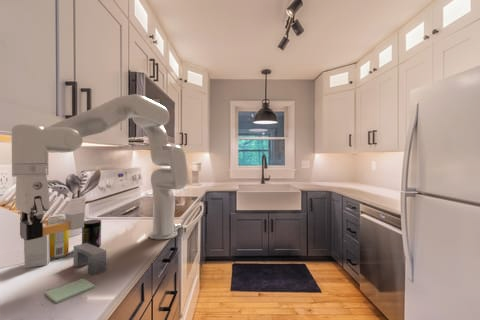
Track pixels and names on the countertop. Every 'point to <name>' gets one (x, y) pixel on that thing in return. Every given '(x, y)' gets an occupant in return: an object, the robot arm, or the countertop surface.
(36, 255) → the skincare box
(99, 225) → the supplement container
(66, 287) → the mat
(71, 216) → the plug
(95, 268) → the block
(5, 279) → the countertop surface
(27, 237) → the robot arm
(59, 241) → the beer can
